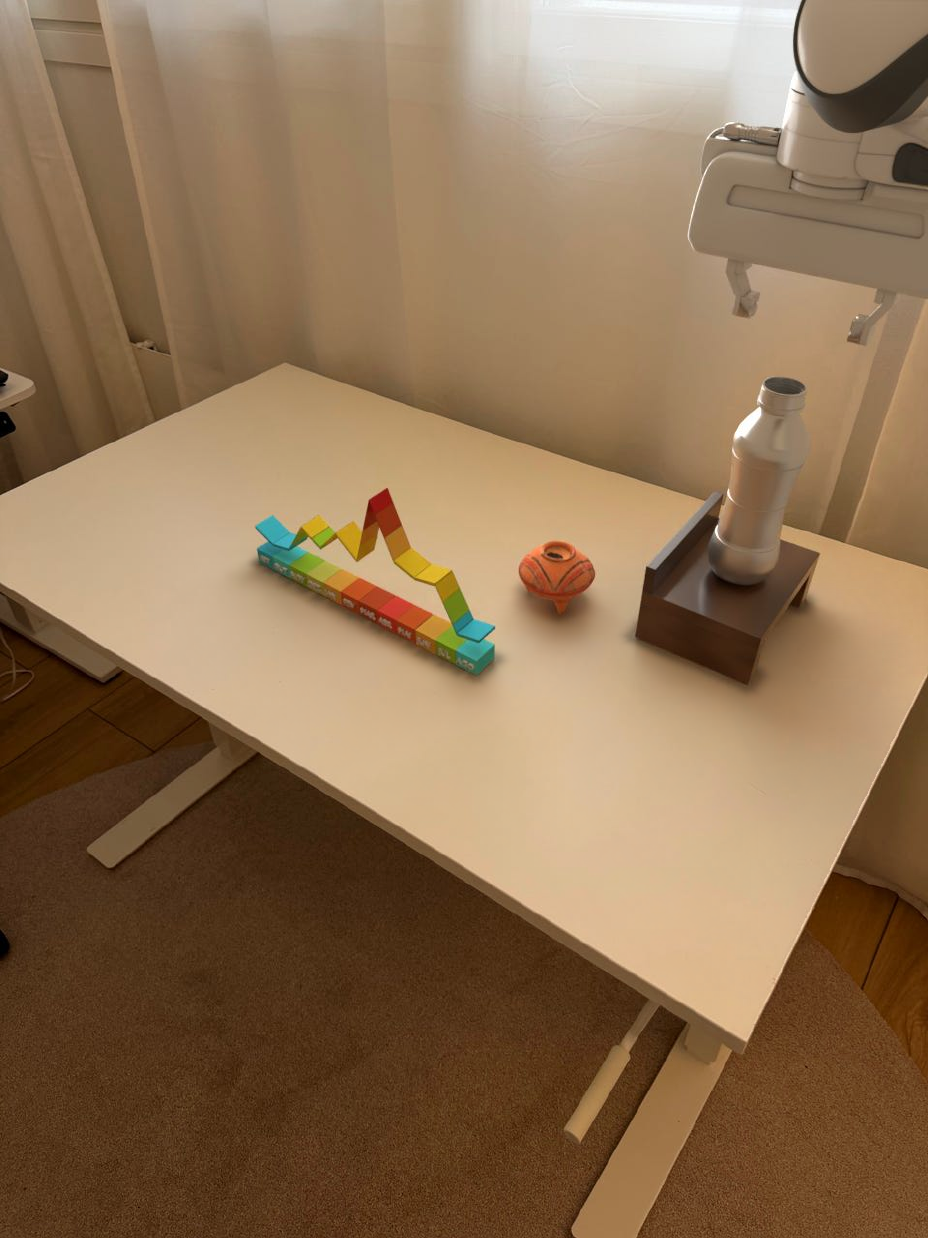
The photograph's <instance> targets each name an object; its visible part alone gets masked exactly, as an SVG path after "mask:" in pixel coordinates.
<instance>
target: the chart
mask: <svg viewBox="0 0 928 1238" xmlns="http://www.w3.org/2000/svg"><path fill="white" fill-rule="evenodd" d="M254 528H255V530H256V531H257V532H258V533H259V534H260V535H261V536H262V537H263V538H264V539H265V540H266V542H264V543H263V544H261V545H260V546H258V547H256V552H257V558H258V563H260V564H262V565H264V566H266V567H268V568H270V569H272V570H274V571H275V572H277V573H280V574H282V575H283V576H285V577H287V578H289V579H291V580H293V581H295V582H296V583H298V584H300V585H302V586H304V587H306V588H308V589H310V590H312V591H314V592H316V593H318V594H319V595H321V596H323V597H325V598H327V599H329V600H331V601H333V602H335V603H337V604H339V605H341V606H342V607H344V608H346V609H348V610H349V611H352V612H354V613H355V614H357V615H359V616H361V617H364V618H365V619H367V620H368V621H371V622H373V623H374V624H376V625H378V626H381V627H383V628H384V629H387V630H388V631H390V632H392V633H394V634H396V635H398V636H400V637H402V638H403V639H406V640H408V641H409V642H411V643H413V644H415V645H417V646H419V647H421V648H423V649H424V650H426V651H428V652H430V653H432V654H434V655H436V656H438V657H440V658H441V659H444V660H446V661H448V662H449V663H452V664H453V665H456V666H458V667H460V668H462V669H463V670H466V671H468V672H469V673H471V674H472V675H475V676H478V675H479V674H480V673H481V672H483V670H484V669H485V668H486V667H487V666H488V665H489V664H491V662H493V661H494V660H495V653H496V650H495V649H496V644H495V643H493V642H491V641H488V640H486V638H487V637H488V636H489V635H491V633H492V632H493V631H495V630H496V625H495V624H491V623H488V622H484V621H481V620H478V619H476V618H474V616H473V614H472V611H471V610H470V607H469V606H468V603H467V601H466V598H465V596H464V593H463V592H462V589H461V587H460V584H459V582H458V580H457V578H456V575H455V572H454V571H453V569H451V568H448V567H444V566H440V565H437V564H434V563H431V562H430V561H428V559H426V558H425V557H424V556H423V555H421V553H419V552H418V551H417V550H415V549H414V548H412V546H411V544H410V541H409V538H408V536H407V534H406V531H405V528H404V526H403V524H402V521H401V518H400V516H399V513H398V510H397V509H396V506H395V503H394V501H393V498H392V495H391V493H390V490H389V488H388V487H386V488H384V489H383V490H381V491H380V492H378V493H377V494H375V495H374V496H372V497H371V498H369V499H368V502H367V506H366V510H365V517H364V522H363V525H362V530H361V529H360V527H359V526H358V525H357V524H356V522H355V521H354V520H353V521H351V522H349V523H347V524H346V525H345V526H344V527H342V528H341V529H339V530H338V531H335V530H334V529H333V528H332V527H331V526H330V525H329V524H328V522H326V520H324V519H323V517H321V515H317V516H315V517H313V518H312V519H310V520H309V521H307V522H306V523H304V524H302V525H301V526H300V527H299V529H298V531H297V532H296V533H293V532H291V531H290V530H288V528H286V527H285V526H284V525H283V524H282V523H281V522H280V521H279V519H277V518H276V516H274V515H273V514H272V515H270V516H269V517H267V518H265V519H263V520H262V521H260V522H258V523H257V524H255V525H254ZM379 530H380V534H381V535H382V537H383V540H384V542H385V545H386V547H387V550H388V552H389V556H390V557H391V560H392V562H393V564H394V566H396V567H397V568H398V569H400V570H401V571H402V572H404V573H405V574H406V575H407V576H408V577H410V578H411V579H412V580H414V581H415V582H418V583H422V584H425V585H428V586H431V587H435V590H436V592H437V594H438V596H439V599H440V601H441V604H442V605H443V608H444V611H445V612H446V614H447V617H448V619H449V620H446V619H444V618H442V617H440V616H438V615H436V614H433V613H432V612H430V611H429V610H426V609H424V608H422V607H420V606H419V605H418V606H417V605H415V604H414V603H412V602H410V601H409V600H406V599H404V598H402V597H400V596H398V595H396V594H393V593H392V592H389V591H387V590H386V589H383V588H382V587H379V586H377V585H375V584H374V583H372V582H370V581H368V580H367V579H366V580H365V579H364V578H362V577H360V576H357V575H355V574H353V573H351V572H349V571H348V570H345V569H343V568H341V567H339V566H337V565H335V564H333V563H331V562H329V561H327V560H325V559H323V558H322V557H319V556H317V555H315V554H313V553H311V552H309V551H307V550H305V549H303V548H301V547H299V545H301V544H302V543H304V542H306V541H307V540H308V538H309V539H310V540H311V541H312V542H313V544H315V546H316V547H317V548H318V549H319V550H322V549H324V548H325V547H327V546H328V545H330V544H332V543H333V542H334V541H336V540H339V542H340V543H341V545H342V546H343V547H344V548H345V549H346V551H347V552H348V553H349V555H350V557H352V558H353V560H354V561H355V562H356V563H359V562H360V561H361V560H363V559H364V558H365V557H367V556H368V555H369V554H371V553H372V552H374V551H375V549H376V544H377V540H378V536H379Z"/></svg>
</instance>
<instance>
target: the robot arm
mask: <svg viewBox="0 0 928 1238" xmlns="http://www.w3.org/2000/svg"><path fill="white" fill-rule="evenodd" d="M792 29H793V30H792V41H791V43H792V44H791V45H792V46H791V48H792V49H791V50H792V51H791V53H792V61H793V66H794V73H793V76H792V78H791V82H790V87H789V92H788V97H787V101H786V107H785V112H784V117H783V122H782V127H774V126H773V127H772V126H763V125H758V126H757V125H756V126H755V125H745V124H744V123H741V122H727V123H725V125H724V127H719V128H717V129H714V130H713V131H712V132H711V133H710V134H709V135H708V136H707V137H706V140H705V141H704V144H703V147H702V152H701V158H700V165H699V170H700V176H701V181H700V184H699V187H698V190H697V193H696V197H695V200H694V204H693V208H692V211H691V215H690V216H691V217H690V220H689V225H688V230H687V239H688V241H689V244H690V246H691V248H692V250H693V252H695V253H698V254H702V255H703V254H704V255H709V256H714V257H718V258H724V259H727V261H726V267H725V274H726V277H727V280H728V283H729V285H730V288H731V291H732V294H733V295H734V300H733V305H732V309H731V310H732V311H731V315H732V316H735V317H740V318H744V319H751V318H752V317H754V316H755V315H756V313H757V311H758V302H759V300H760V296H761V292H760V291H756V290H752V288H751V285H750V281H749V277H748V273H747V270H749V269H751V268H752V267H753V265H758V266H762V267H767V268H773V269H777V270H782V271H787V272H790V273H791V272H792V273H797V274H802V275H807V276H811V277H816V278H822V279H825V280H830V281H831V280H832V281H835V282H842V283H845V284H846V283H847V284H851V285H855V286H860V287H864V288H865V287H866V288H871V289H876V291H875V296H874V300H873V302H874V304H878V307H877V308H876V309H875V310H873V312H872V313H871V314H870V315H866V314H861V313H859V314H858V315H856V318H854V319H853V320H852V321H851V323H850V327H849V332H850V333H848V335H847V338H846V342H847V343H850V344H854V345H855V344H856V345H858V346H863V347H866V346H868V344H870V342H871V340H872V338H873V336H874V334H875V330H876V326H877V323H878V321H879V320H881V318H883V316H885V315H886V314H887V313H888V312H889V311H890V310H891V309H892V308H894V306H895V305H896V304H897V302H898V301H900V299H901V297H902V295H905V296H910V297H915V298H920V299H925V300H928V0H800V1H799V4H798V7H797V11H796V14H795V18H794V22H793V28H792ZM719 135H722V136H719Z"/></svg>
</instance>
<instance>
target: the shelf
mask: <svg viewBox="0 0 928 1238" xmlns="http://www.w3.org/2000/svg"><path fill="white" fill-rule="evenodd" d="M724 495H725V494H724V493H721V492H719V491H714V492H713V493H712V494H711V495H710V496H709V497H708V498H707V499H706V500H705V501H704V502H703V504H702V505H701V506H700V507H699V508H698V509H697V510H696V511H695V512H694V513H693V515H692V516H691V517H690V518H689V519H688V520H687V521H686V522H685V523H684V524H683V525H682V526H681V528H680V529H679V530H678V531H677V532H676V533H675V534H674V535H673V537H672V538H671V539H669V541H667V543H666V544H665V545H664V546H663V547H662V548H661V550H659V552H657V554H656V555H655V556H654V557H653V558H652V560H650V562H649V563H648V564H647V565H646V566H645V570H644V577H643V584H642V590H641V597H640V602H639V603H640V604H639V608H638V609H639V610H638V616H637V622H636V627H635V634H634V638H636V639H639V640H641V641H643V642H646V643H648V644H651V645H653V646H655V647H657V648H660V649H663V650H664V651H666V652H669V653H671V654H674V655H676V656H678V657H681V658H684V659H685V660H688V661H690V662H693V663H695V664H696V665H700V666H701V667H704V668H706V669H709V670H711V671H712V672H716V673H719V674H721V675H723V676H726V677H728V678H729V679H732V680H734V681H736V682H739V683H741V684H744V685H746V686H749V685H750V683H751V681H753V678H754V677H755V676H756V673H757V671H758V668H759V664H760V660H761V658H762V654H763V650H764V646H765V643H766V640H767V638H768V637H769V635H770V634H771V632H772V630H773V629H774V628H775V626H776V625H777V623H778V622H779V620H780V619H781V618H782V616H783V614H784V613H785V612H786V610H787V609H788V607H789V606H794V607H796V608H798V609H800V608H801V606H802V605H803V604H804V602H805V601H806V599H807V596H808V594H809V590H810V587H811V583H812V580H813V577H814V574H815V571H816V568H817V565H818V562H819V558H820V556H821V552H818V551H816V550H814V549H813V550H812V549H809V548H808V547H807V548H806V547H804V546H801V545H799V544H796V543H792V542H791V541H787V540H783V539H781V538H780V553H779V561H778V563H777V565H776V567H775V569H774V570H773V572H772V574H771V575H770V576H769V577H768V578H766V579H765V580H763V581H762V582H760V583H757V584H754V585H738V584H733V583H730V582H727V581H725V580H723V579H721V578H720V577H719V576H717V575H716V574H715V573H714V572H713V570H712V568H711V566H710V564H709V562H708V545H709V542H710V539H711V537H712V534H713V532H714V530H715V528H716V527H717V525H718V522H719V519H720V515H721V509H722V505H723V500H724Z"/></svg>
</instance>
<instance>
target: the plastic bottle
mask: <svg viewBox="0 0 928 1238" xmlns="http://www.w3.org/2000/svg"><path fill="white" fill-rule="evenodd" d="M807 394H808V387H807V385H806V384H805V383H804V382H803V381H801V380H799V379H796V378H794V377H788V376H779V375H778V376H769V377H767V378H765V379H764V380H763V381H762V383H761V387H760V391H759V394H758V396H757V400H756V404H757V406H758V407H757V408H756V409H755V410H754V411H752V412H751V413H750V414H748V416H747V417H745V419H744V420H742V421H741V423H740V424H739V425H738V427H737V429H736V431H735V432H734V434H733V440H732V449H731V463H730V464H731V465H730V475H729V482H728V487H727V488H728V489H727V492H726V499H725V501H724V505H723V508H722V511H721V512H720V515H719V518H720V519H719V522H718V525H717V527H716V528H715V530H714V532H713V534H712V537H711V539H710V542H709V545H708V562H709V564H710V566H711V568H712V570H713V572H714V573H715V574H716V575H717V576H719V577H720V578H721V579H723V580H725V581H727V582H730V583H733V584H738V585H754V584H757V583H760V582H762V581H763V580H765V579H766V578H768V577H769V576H770V575H771V574H772V572H773V570H774V569H775V567H776V565H777V563H778V561H779V553H780V539H781V535H782V530H783V524H784V519H785V513H786V509H787V507H788V504H789V500H790V498H791V495H792V493H793V489H794V487H795V484H796V482H797V480H798V478H799V475H800V474H801V472H802V469H803V467H804V465H805V463H806V461H807V459H808V457H809V454H810V451H811V436H810V433H809V430H808V428H807V425H806V423H805V421H804V420H803V418H802V416H801V413H803V412H804V410H805V407H806V397H807Z"/></svg>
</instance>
